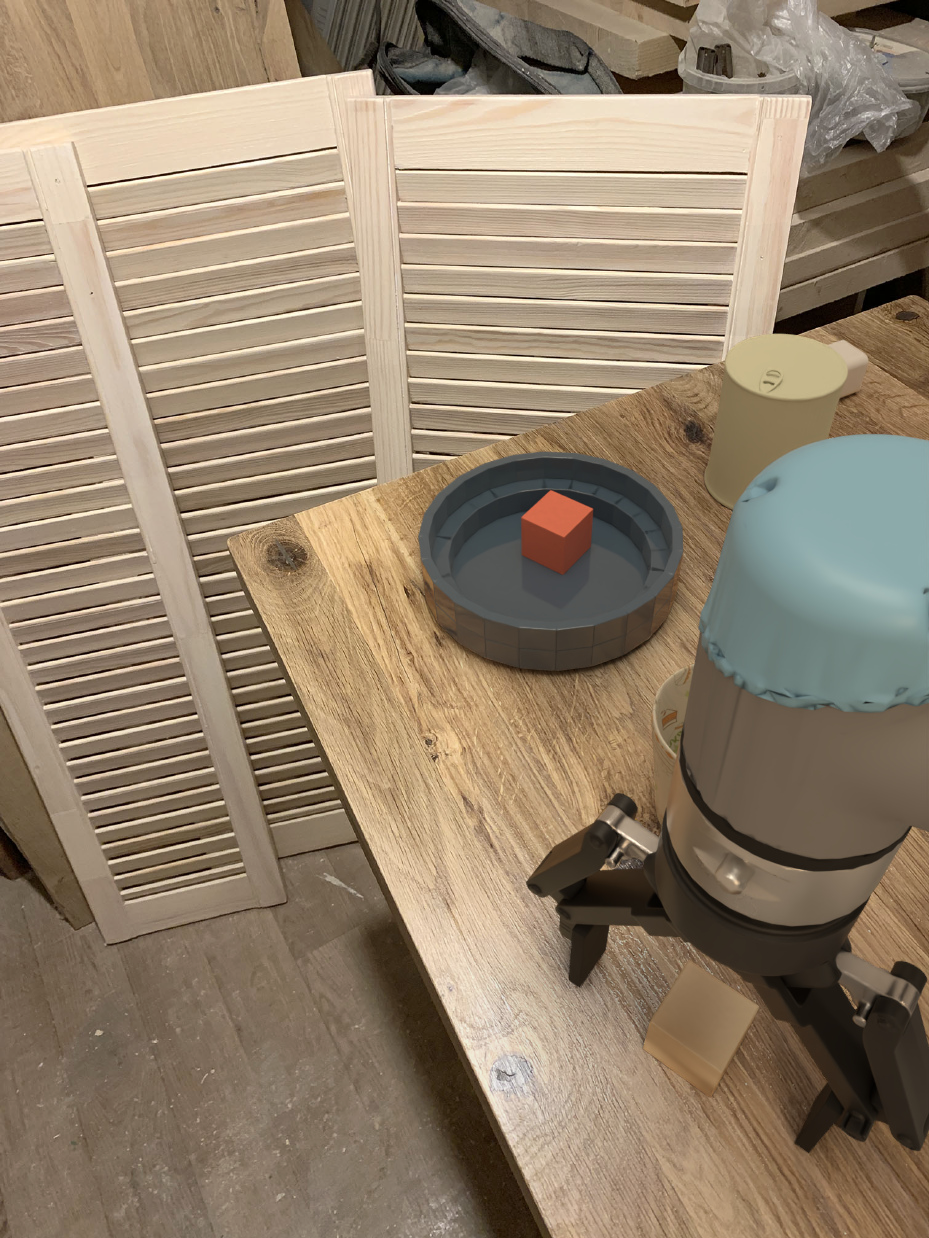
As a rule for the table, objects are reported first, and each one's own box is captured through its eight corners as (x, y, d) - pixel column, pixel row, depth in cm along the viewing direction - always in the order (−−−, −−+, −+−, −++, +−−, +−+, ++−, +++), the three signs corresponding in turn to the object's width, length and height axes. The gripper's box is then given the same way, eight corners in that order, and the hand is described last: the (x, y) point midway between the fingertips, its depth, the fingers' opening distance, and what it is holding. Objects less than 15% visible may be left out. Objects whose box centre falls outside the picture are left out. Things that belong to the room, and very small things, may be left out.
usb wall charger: (858, 394, 87) (870, 357, 84) (800, 416, 85) (809, 379, 83) (829, 374, 90) (839, 337, 87) (772, 395, 88) (780, 358, 85)
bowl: (721, 558, 73) (731, 510, 70) (584, 719, 64) (588, 673, 60) (520, 470, 82) (520, 424, 79) (373, 600, 72) (365, 554, 69)
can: (685, 494, 79) (705, 371, 70) (730, 438, 84) (753, 316, 75) (790, 532, 75) (824, 406, 66) (831, 470, 80) (868, 346, 71)
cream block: (746, 1033, 49) (760, 1005, 46) (710, 1098, 47) (722, 1073, 44) (679, 988, 51) (688, 958, 48) (642, 1048, 49) (648, 1021, 46)
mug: (622, 848, 57) (635, 755, 49) (669, 695, 65) (687, 595, 57) (760, 891, 54) (796, 801, 47) (792, 727, 62) (827, 627, 55)
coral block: (591, 546, 74) (593, 508, 71) (562, 575, 72) (564, 537, 69) (549, 527, 76) (550, 489, 73) (521, 555, 74) (520, 517, 71)
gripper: (438, 737, 37) (465, 956, 52) (1123, 1167, 26) (898, 1282, 41) (546, 623, 41) (542, 860, 56) (1184, 955, 30) (957, 1134, 45)
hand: (693, 1039), depth 49 cm, fingers open, 12 cm apart
